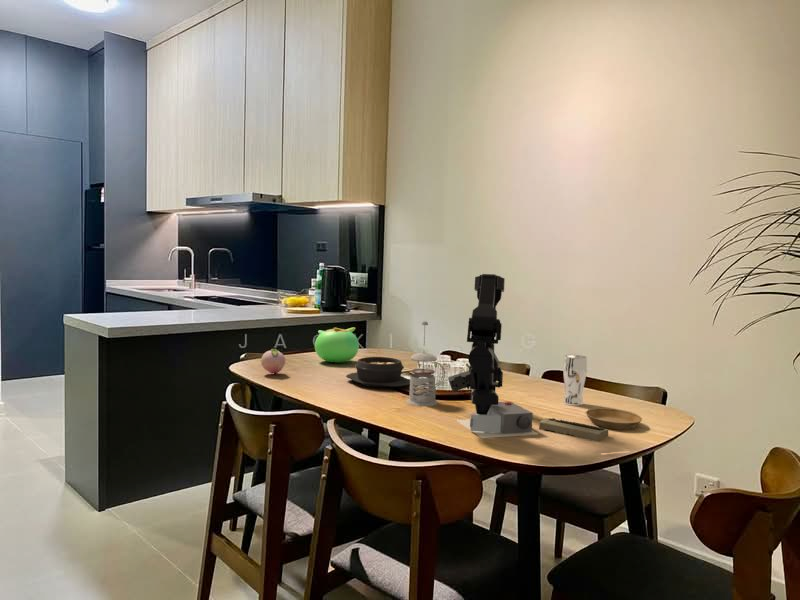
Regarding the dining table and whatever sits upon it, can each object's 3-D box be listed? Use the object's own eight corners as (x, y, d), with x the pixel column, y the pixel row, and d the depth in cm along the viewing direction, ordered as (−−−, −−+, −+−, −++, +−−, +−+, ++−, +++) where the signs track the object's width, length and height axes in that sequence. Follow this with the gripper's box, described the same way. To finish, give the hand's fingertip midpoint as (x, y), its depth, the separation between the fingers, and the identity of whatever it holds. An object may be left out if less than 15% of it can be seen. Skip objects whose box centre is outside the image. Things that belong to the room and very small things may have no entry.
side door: (469, 431, 149) (470, 415, 149) (469, 429, 151) (470, 413, 150) (503, 433, 148) (504, 417, 148) (502, 432, 150) (503, 415, 149)
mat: (456, 421, 161) (456, 420, 161) (508, 418, 166) (508, 417, 166) (481, 439, 146) (481, 437, 145) (539, 435, 150) (539, 434, 150)
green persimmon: (313, 365, 235) (314, 328, 233) (315, 358, 251) (316, 323, 250) (358, 366, 236) (359, 329, 235) (358, 359, 253) (359, 324, 252)
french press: (402, 398, 185) (405, 319, 183) (438, 398, 187) (441, 319, 185) (409, 406, 175) (412, 322, 173) (447, 405, 178) (450, 323, 176)
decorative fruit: (258, 372, 217) (259, 345, 216) (280, 371, 220) (281, 345, 219) (264, 377, 208) (264, 349, 208) (287, 376, 212) (287, 348, 211)
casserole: (333, 382, 205) (334, 358, 204) (368, 375, 220) (369, 352, 219) (390, 394, 190) (391, 368, 189) (423, 385, 205) (424, 361, 204)
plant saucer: (650, 425, 164) (651, 416, 164) (626, 435, 154) (626, 425, 154) (601, 414, 175) (601, 405, 175) (575, 422, 165) (575, 413, 165)
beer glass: (578, 407, 181) (581, 359, 180) (557, 403, 186) (560, 355, 185) (588, 404, 186) (591, 356, 185) (568, 399, 191) (570, 353, 190)
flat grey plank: (608, 437, 152) (609, 425, 152) (598, 445, 146) (599, 432, 146) (549, 426, 161) (550, 414, 161) (538, 432, 155) (539, 420, 155)
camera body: (482, 420, 161) (483, 400, 160) (509, 419, 163) (510, 399, 163) (505, 435, 148) (506, 413, 148) (534, 433, 151) (535, 411, 150)
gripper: (448, 355, 160) (446, 412, 161) (453, 369, 141) (451, 433, 143) (489, 356, 160) (487, 413, 161) (499, 371, 141) (497, 434, 142)
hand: (480, 423), depth 152 cm, fingers closed
